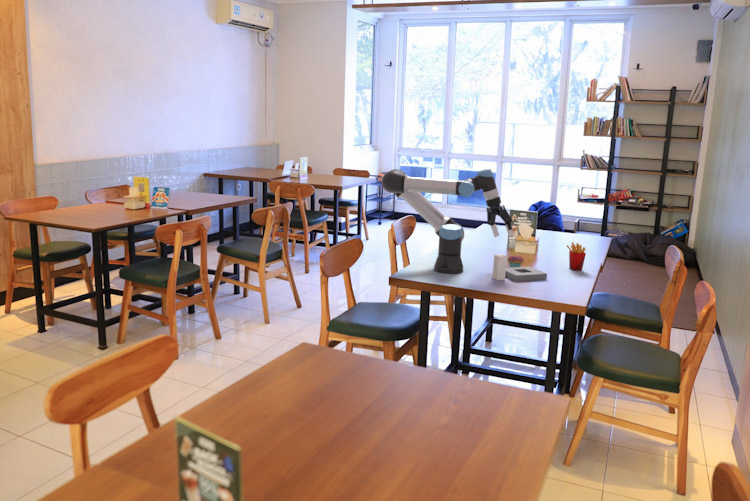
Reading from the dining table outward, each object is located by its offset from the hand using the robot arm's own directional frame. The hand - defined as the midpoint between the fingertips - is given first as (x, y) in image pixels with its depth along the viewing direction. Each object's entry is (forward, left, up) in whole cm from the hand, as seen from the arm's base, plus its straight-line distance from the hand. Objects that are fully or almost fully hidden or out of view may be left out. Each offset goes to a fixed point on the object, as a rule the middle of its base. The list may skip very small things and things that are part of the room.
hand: (504, 236), depth 338 cm
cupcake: (+8, 0, -18) cm, 20 cm away
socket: (+2, -17, -18) cm, 25 cm away
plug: (-13, -19, -18) cm, 29 cm away
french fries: (+39, -10, -18) cm, 44 cm away
